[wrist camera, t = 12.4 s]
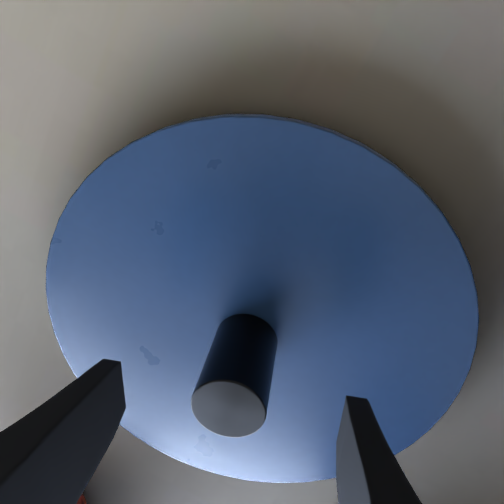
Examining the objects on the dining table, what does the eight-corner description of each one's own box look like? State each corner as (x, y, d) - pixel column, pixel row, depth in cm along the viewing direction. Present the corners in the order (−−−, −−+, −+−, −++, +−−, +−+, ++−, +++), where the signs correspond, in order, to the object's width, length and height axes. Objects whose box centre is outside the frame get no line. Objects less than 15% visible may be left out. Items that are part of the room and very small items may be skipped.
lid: (87, 430, 22) (28, 522, 17) (29, 93, 14) (-96, 108, 10) (412, 487, 20) (438, 607, 15) (536, 132, 12) (649, 171, 8)
